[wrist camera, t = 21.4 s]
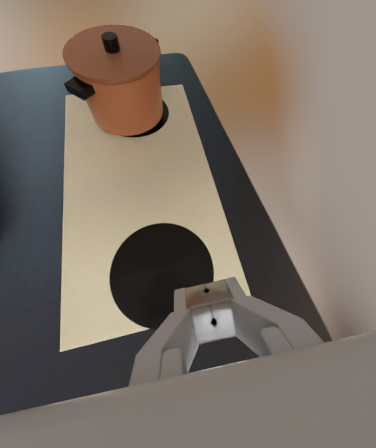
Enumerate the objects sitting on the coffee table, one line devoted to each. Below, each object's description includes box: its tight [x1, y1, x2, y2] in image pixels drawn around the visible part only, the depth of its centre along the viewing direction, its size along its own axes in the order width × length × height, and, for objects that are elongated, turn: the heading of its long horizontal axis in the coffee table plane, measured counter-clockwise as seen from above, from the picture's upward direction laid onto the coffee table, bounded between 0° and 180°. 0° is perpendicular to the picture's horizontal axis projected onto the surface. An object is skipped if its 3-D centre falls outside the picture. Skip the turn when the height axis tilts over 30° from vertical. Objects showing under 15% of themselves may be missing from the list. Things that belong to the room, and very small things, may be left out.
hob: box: [60, 85, 251, 352], centre depth 29 cm, size 22×41×1 cm, turn 13°
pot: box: [63, 25, 163, 136], centre depth 28 cm, size 16×13×11 cm
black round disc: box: [109, 223, 214, 330], centre depth 24 cm, size 13×13×1 cm
